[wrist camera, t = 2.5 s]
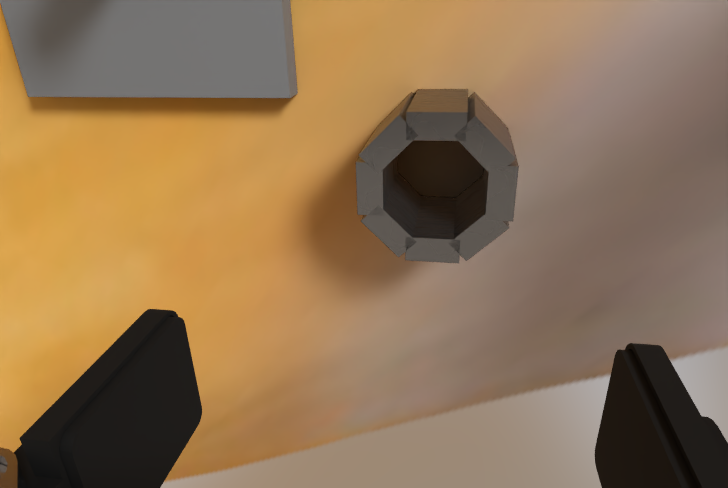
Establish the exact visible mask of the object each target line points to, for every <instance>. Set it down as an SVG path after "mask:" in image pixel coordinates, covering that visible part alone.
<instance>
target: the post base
mask: <svg viewBox="0 0 728 488" xmlns="http://www.w3.org/2000/svg"><path fill="white" fill-rule="evenodd" d="M0 3H1V7H2V10H3V14H4V17H5V20H6V24H7V27H8V30H9V34H10V37H11V41H12V44H13V47H14V51H15V54H16V57H17V61H18V64H19V68H20V71H21V74H22V78H23V81H24V84H25V88H26V91H27V95H28V97H182V98H291V97H293V96H294V95H296V94H297V93H298V92H297V80H296V68H295V55H294V43H293V30H292V18H291V6H290V0H0Z"/></svg>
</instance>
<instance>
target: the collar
mask: <svg viewBox="0 0 728 488" xmlns="http://www.w3.org/2000/svg"><path fill="white" fill-rule="evenodd" d="M413 140H425V141H459V142H460V143H461V144H462V145H463V146H464V147H465V148H466V149H467V150H468V152H469V153H470V154H471V155H472V156H473V157H474V158H475V159H476V160H477V161H478V162H479V163H480V164H481V165H482V166H483V167H484V169H483V175H482V176H481V177H480V178H479V179H478V180H477V181H475V182H474V183H473V184H472V185H471V186H469V187H468V188H467V189H466V190H465V191H464V192H462V193H461V194H460V195H459V196H458V197H457V198H454V197H426V196H421V195H420V194H419V193H418V192H417V191H416V190H415V189H414V188H413V187H412V186H411V185H410V184H409V183H408V182H407V181H406V180H405V179H404V178H403V177H402V176H401V175H400V174H399V173H398V154H400V153H401V152H402V151H403V150H404V149H405V148H406V147H407V146H408V145H409V144H410V143H411V142H412V141H413ZM359 156H360V157H359V158H358V160H357V161H356V183H357V210H358V215H363V217H362V220H361V222H362V223H363V224H364V225H365V226H366V227H367V228H368V229H369V230H370V231H372V232H373V233H374V234H375V235H376V236H377V237H378V238H379V239H380V240H381V241H382V242H383V243H384V244H385V245H386V246H387V247H388V248H389V249H390V250H392V251H393V252H394V253H395V254H396V255H397V256H398V257H400V256H401V255H402V254H403V253H404V252H405V251H406V254H405V260H411V261H429V262H446V263H459V255H461V256H462V257H463V258H464V259H465V260H466V261H467V260H468V259H470V258H471V257H472V256H474V255H475V254H476V253H477V252H479V251H480V250H481V249H483V248H484V247H485V246H486V245H488V244H489V243H490V242H492V241H493V240H494V239H496V238H497V237H498V236H499V235H501V234H502V233H503V232H505V231H506V230H507V229H508V228H509V224H508V221H513V216H514V206H515V197H516V187H517V177H518V167H519V166H518V163H517V159H516V155H515V151H514V147H513V144H512V140H511V136H510V134H509V130H508V128H507V127H506V125H505V124H504V123H503V122H502V121H501V120H500V119H499V118H498V117H497V116H496V115H495V114H494V113H493V111H492V110H491V109H490V108H489V107H488V106H487V105H486V104H485V103H484V102H483V101H482V100H481V99H480V98H479V96H478V95H477V94H476V93H475V92H474V93H473V94H472V95H471V96H470V97H469V98H468V89H418V90H417V92H416V94H415V95H414V94H413V93H412V92H411V93H410V94H409V95H408V96H407V97H406V98H405V99H404V100H403V101H402V102H401V103H400V104H399V105H398V106H397V107H396V108H395V109H394V110H393V111H392V112H391V113H390V114H389V115H388V116H387V117H386V118H385V119H384V120H383V121H382V122H381V123H380V124H379V125H378V127H377V128H376V130H375V131H374V133H373V134H372V136H371V137H370V139H369V140H368V142H367V143H366V145H365V146H364V148H363V149H362V151H361V152H360V154H359Z"/></svg>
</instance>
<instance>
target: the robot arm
mask: <svg viewBox="0 0 728 488" xmlns="http://www.w3.org/2000/svg"><path fill="white" fill-rule="evenodd" d="M201 415H202V406H201V401H200V396H199V391H198V386H197V382H196V377H195V372H194V367H193V362H192V357H191V352H190V347H189V342H188V337H187V332H186V327H185V323H184V320H183V319H182V318H180V317H178V315H177V314H176V312H174V311H171V310H157V309H149V310H147V311H145V312H144V313H143V314H142V315H141V316H140V317H139V318H138V319H137V320H136V321H135V322H134V323H133V324H132V325H131V326H130V327H129V328H128V329H127V330H126V331H125V332H124V333H123V334H122V335H121V336H120V337H119V338H118V339H117V340H116V341H115V342H114V344H113V345H112V346H111V347H110V348H109V349H108V350H107V351H106V352H105V353H104V354H103V355H102V356H101V357H100V358H99V359H98V360H97V361H96V362H95V363H94V364H93V365H92V366H91V367H90V368H89V369H88V370H87V371H86V372H85V373H84V374H83V375H82V376H81V377H80V378H79V379H78V380H77V381H76V382H75V383H74V384H73V385H72V386H71V387H70V388H69V389H68V390H67V391H66V392H65V393H64V394H63V395H62V396H61V397H60V398H59V399H58V400H57V401H56V402H55V403H54V404H53V405H52V406H51V407H50V408H49V409H48V410H47V411H46V412H45V413H44V414H43V415H42V416H41V417H40V418H39V419H38V420H37V421H36V422H35V423H34V424H33V425H32V426H31V427H30V428H29V429H28V430H27V431H26V432H25V433H24V434H23V435H22V436H21V437H20V441H21V443H22V445H21V446H20V447H19V448H18V449H17V450H16V451H15V452H14V453H13V452H12V451H10V450H9V449H5V448H0V488H160V487H161V485H162V484H163V482H164V480H165V479H166V477H167V475H168V474H169V472H170V471H171V469H172V467H173V466H174V464H175V462H176V461H177V459H178V457H179V456H180V454H181V452H182V451H183V449H184V448H185V446H186V444H187V443H188V441H189V439H190V438H191V436H192V434H193V433H194V431H195V430H196V428H197V426H198V424H199V422H200V419H201ZM595 463H596V468H597V472H598V475H599V479H600V482H601V486H602V488H728V443H727V441H726V440H725V438H724V436H723V435H722V433H721V431H720V430H719V428H718V426H717V425H716V424H715V422H714V421H713V420H712V419H710V418H708V417H702V416H701V415H700V413H699V411H698V410H697V408H696V406H695V404H694V403H693V401H692V399H691V397H690V395H689V394H688V392H687V390H686V388H685V387H684V385H683V383H682V381H681V380H680V378H679V376H678V374H677V372H676V371H675V369H674V367H673V365H672V363H671V362H670V360H669V358H668V356H667V355H666V353H665V351H664V349H663V348H662V347H661V346H659V345H647V344H633V343H630V344H628V345H627V346H626V349H625V350H617V352H616V354H615V358H614V363H613V368H612V372H611V377H610V382H609V387H608V391H607V396H606V401H605V405H604V410H603V415H602V420H601V424H600V428H599V433H598V438H597V443H596V448H595Z"/></svg>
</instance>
